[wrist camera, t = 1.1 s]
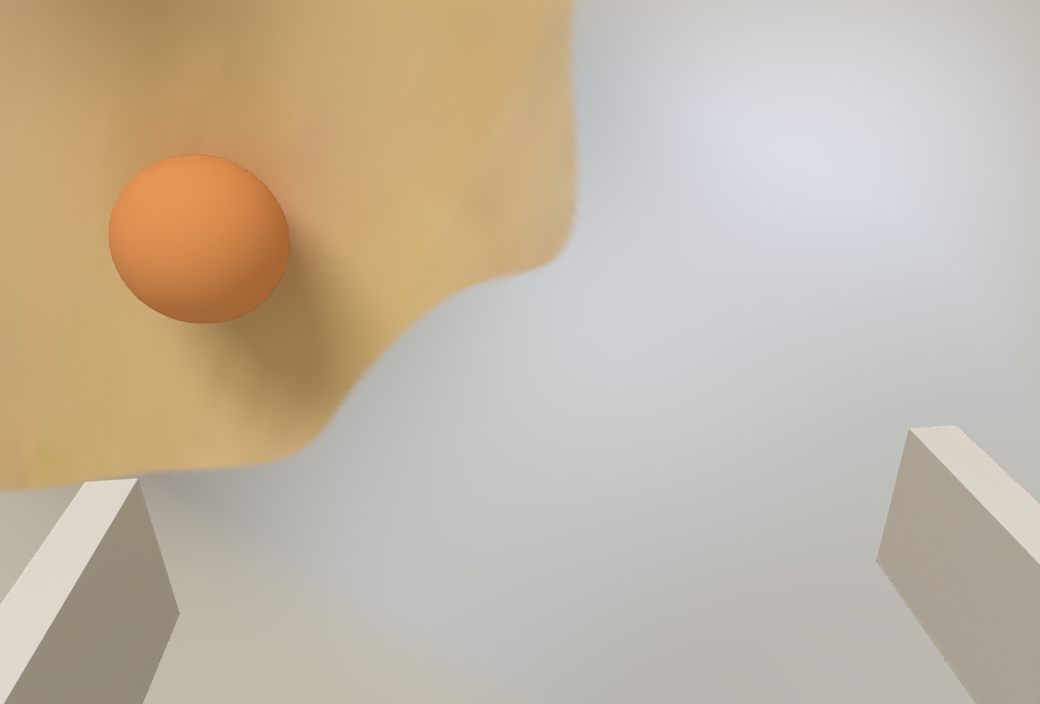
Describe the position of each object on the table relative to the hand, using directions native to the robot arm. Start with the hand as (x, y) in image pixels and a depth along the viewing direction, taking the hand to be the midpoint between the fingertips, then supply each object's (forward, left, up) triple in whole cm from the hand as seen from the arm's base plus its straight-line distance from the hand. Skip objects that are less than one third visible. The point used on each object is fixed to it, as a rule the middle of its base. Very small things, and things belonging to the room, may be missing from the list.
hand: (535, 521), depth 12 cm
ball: (-9, -2, -16) cm, 18 cm away
